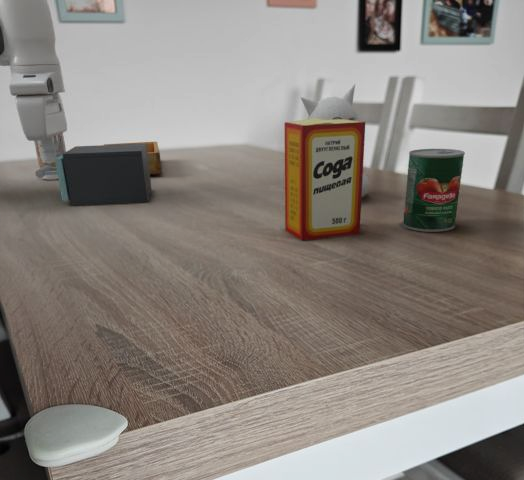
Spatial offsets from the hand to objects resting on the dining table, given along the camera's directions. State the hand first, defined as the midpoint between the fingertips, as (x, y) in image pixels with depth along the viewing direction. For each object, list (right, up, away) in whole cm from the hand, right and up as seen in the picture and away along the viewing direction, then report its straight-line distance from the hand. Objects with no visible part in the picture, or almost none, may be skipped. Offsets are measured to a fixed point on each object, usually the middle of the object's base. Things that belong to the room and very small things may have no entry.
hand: (53, 160), depth 109 cm
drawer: (+6, -6, +4) cm, 9 cm away
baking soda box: (+51, -19, -24) cm, 59 cm away
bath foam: (-11, +6, +29) cm, 32 cm away
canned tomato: (+67, -18, -23) cm, 74 cm away
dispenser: (+11, -6, +4) cm, 13 cm away
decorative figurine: (+55, -8, -2) cm, 55 cm away
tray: (+6, +11, +39) cm, 41 cm away
